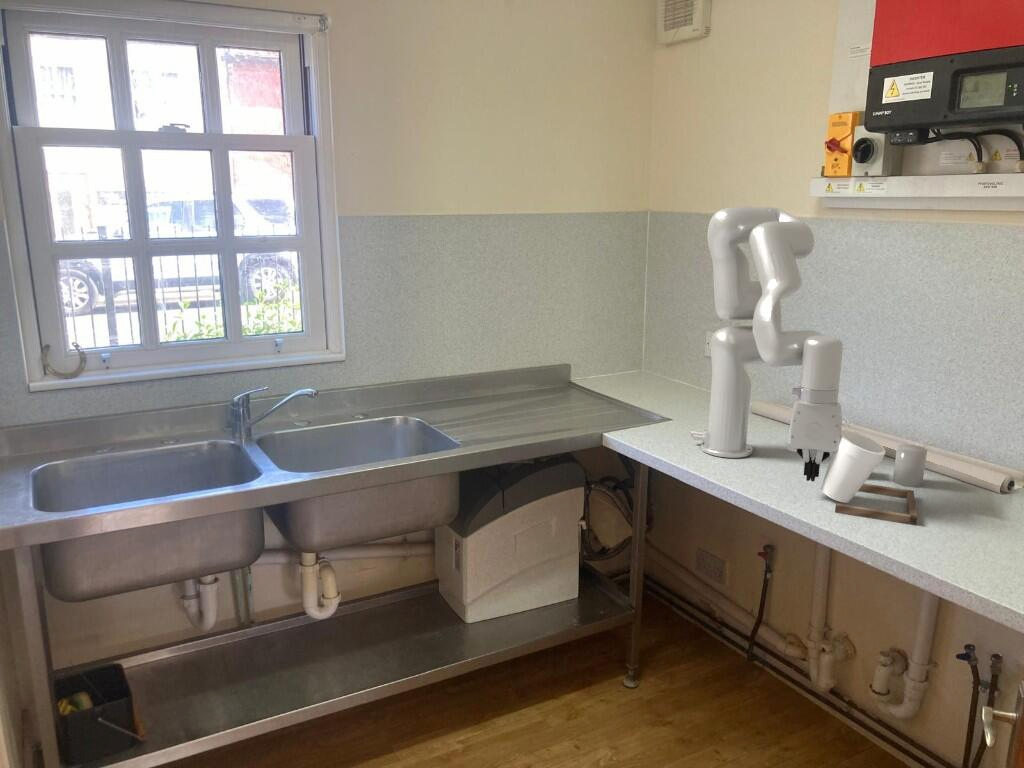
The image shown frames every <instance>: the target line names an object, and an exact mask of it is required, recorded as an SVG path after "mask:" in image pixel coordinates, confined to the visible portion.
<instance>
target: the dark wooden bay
mask: <svg viewBox="0 0 1024 768" xmlns="http://www.w3.org/2000/svg"><path fill="white" fill-rule="evenodd" d="M857 492H861V493H862V492H863V493H870V494H875V495H882V496H891V497H896V498H904V499H906V503H907V504H906V505H907V512H908V514H907V513H901V512H893V511H889V510H888V511H887V510H883V509H881V510H880V509H875V508H868V507H862V506H857V505H856V506H855V505H851V504H850V505H849V504H845V503H843V504H842V503H837V502H836V503H835V508H834V512H835V513H837V514H845V515H850V516H857V517H862V518H869V519H876V520H881V521H888V522H895V523H900V524H905V525H906V524H907V525H912V526H917V522H918V513H917V507H916V499H915V491H914V490H911V489H904V488H899V487H898V488H897V487H891V486H883V485H877V484H872V483H871V484H870V483H865V482H864V483H863V485H862V486H861V487H860V489H859V490H858V491H857Z"/></svg>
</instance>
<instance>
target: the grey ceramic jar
mask: <svg viewBox="0 0 1024 768" xmlns="http://www.w3.org/2000/svg"><path fill="white" fill-rule="evenodd" d="M927 452H928V450H927V448H924V447H922V446H919V445H916V444H915V445H914V444H898V445H897V446H896V452H895V461H894V466H893V467H894V469H893V475H892V481H893V482H894V483H895V484H897V485H899V486H903V487H908V488H921V487H922V486H923V482H924V475H925V469H926V468H925V467H926V461H927V455H928V453H927Z"/></svg>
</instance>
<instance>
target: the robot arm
mask: <svg viewBox="0 0 1024 768" xmlns="http://www.w3.org/2000/svg"><path fill="white" fill-rule="evenodd" d="M707 227H708V228H707V245H708V250H709V253H710V257H711V261H712V269H713V271H712V272H713V273H712V274H713V295H714V296H713V297H714V307H715V308H714V310H715V314H716V315H717V317H718V318H719V319H721V320H723V321H752V325H733V326H724V327H722V328H719V329H717V330H716V331H715V332H714V333H713V334H712V336H711V338H710V341H709V349H710V350H709V351H710V358H711V359H710V361H711V386H710V400H709V401H710V403H709V412H708V413H709V415H708V416H709V417H708V429H707V430H703V431H699V430H695V429H692V430H691V431H690V438H693V439H692V440H696V441H701V443H700V449H701V451H703V452H704V453H706V454H709V455H711V456H714V457H720V458H727V459H728V458H729V459H730V458H731V459H739V458H745V457H749V456H751V455H752V454H753V447H752V446H751V445H750V444H748V443H747V440H748V429H749V428H748V427H749V416H750V404H751V394H752V381H751V378H750V376H749V374H748V372H747V371H746V368H745V366H748V365H761V364H766V365H767V366H770V367H774V368H775V367H776V368H777V367H778V368H779V367H792V366H793V367H794V366H795V367H796V366H797V367H799V366H801V372H800V382H799V385H800V386H798V387H792V390H791V391H792V392H791V393H792V394H791V395H796V396H797V397H798V398H797V399H795V401H794V403H793V406H792V411H791V415H790V422H789V429H788V430H789V431H788V437H787V438H788V442H787V445H786V449H787V450H788V451H791V452H794V453H797V454H798V455H799V456H800V458H801V459H802V460H803V462H804V466H803V467H804V468H803V476H806V481H808V482H809V481H811V482H815V480H816V478H819V476H820V468H821V467H820V466H821V463H822V462H824V461H825V460H827V459H828V458H829V457H830V458H831V457H832V454H833V452H836V451H838V446H839V443H840V437H841V431H842V428H843V427H842V426H843V425H842V424H843V422H842V419H843V416H842V415H843V413H842V404H841V403H840V402H838V400H839V391H840V388H839V387H840V380H841V371H842V360H843V349H844V346H843V345H844V344H843V342H842V340H841V339H839V338H837V337H833V336H828V335H825V334H824V335H823V334H822V333H820V332H818V331H816V330H815V331H814V330H783V327H782V305H781V300H784V299H786V298H788V297H789V296H792V295H793V294H794V293H796V292H797V291H799V290H800V289H801V287H802V284H803V281H802V278H801V273H800V270H799V267H798V263H797V261H796V260H801V259H805V258H807V257H809V255H811V253H812V252H813V250H814V246H815V237H814V234H813V231H812V228H811V227H810V226H809V225H808V224H807V223H806V222H805V221H803V220H802V219H800V218H799V217H796V216H795V215H793V214H791V213H789V212H787V211H785V210H783V209H781V208H778V207H773V206H772V207H769V206H766V207H765V206H731V207H726V208H721V209H719V210H717V211H716V212H715V213H714V214H713V215H712V216H711V218H710V221H709V224H708V226H707ZM739 244H749V246H750V250H751V254H752V258H753V261H754V266H755V269H756V273H757V277H758V280H754V281H752V280H751V276H750V264H749V263H750V262H749V259H748V257H747V255H746V253H745V252H744V251H743V250H742V248H741V247H740V245H739ZM811 451H814V452H815V451H816V456H815V457H814V458H813V457H812V456H811ZM812 458H813V459H812Z"/></svg>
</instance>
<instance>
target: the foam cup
mask: <svg viewBox="0 0 1024 768" xmlns="http://www.w3.org/2000/svg"><path fill="white" fill-rule="evenodd" d="M885 454H886V449H885V448H884V447H883V446H882V444H880V443H879V442H877V441H876V440H874V439H872V438H871V437H868V436H867V435H866V434H865V435H864V434H862V433H860V432H857V431H852V430H847V429H845V430H841V437H840V443H839V446H838V451H836V452H833V454H832V457H830V460H829V463H828V466H827V469H826V472H825V475H824V477H823V480H822V483H821V486H820V490H821V491H822V493H823V494H824V495H826V496H827V497H829V498H830V499H832V500H834V501H836V502H837V501H838V502H839V503H843V504H847V503H850V501H852V500H853V498H854V497H855V496H856V494H858V492H859V491H858V490H859V489H860V487H861V486H862V485H863V483H864V484H865V482H866V481H867V480H868V479H867V478H868V477H869V478H870V476H871V474H872V473H873V471H874V470H875V469H876V467H878V465H879V464H880V463H881V462H882V460H883V459H884V457H885Z"/></svg>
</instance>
